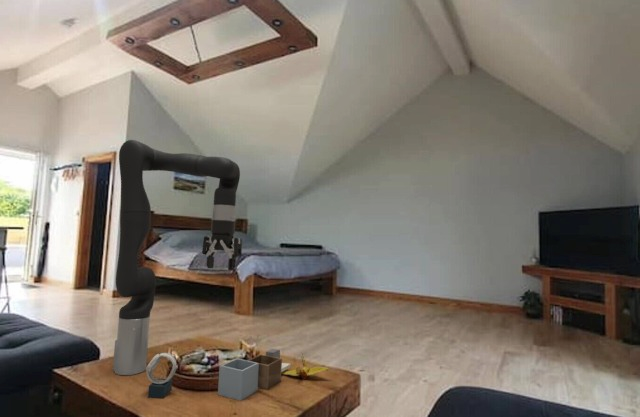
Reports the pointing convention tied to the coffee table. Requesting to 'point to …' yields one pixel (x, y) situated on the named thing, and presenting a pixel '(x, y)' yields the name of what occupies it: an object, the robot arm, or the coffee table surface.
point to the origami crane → (305, 370)
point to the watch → (160, 386)
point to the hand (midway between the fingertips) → (220, 269)
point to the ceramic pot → (238, 379)
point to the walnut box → (268, 370)
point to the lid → (277, 354)
